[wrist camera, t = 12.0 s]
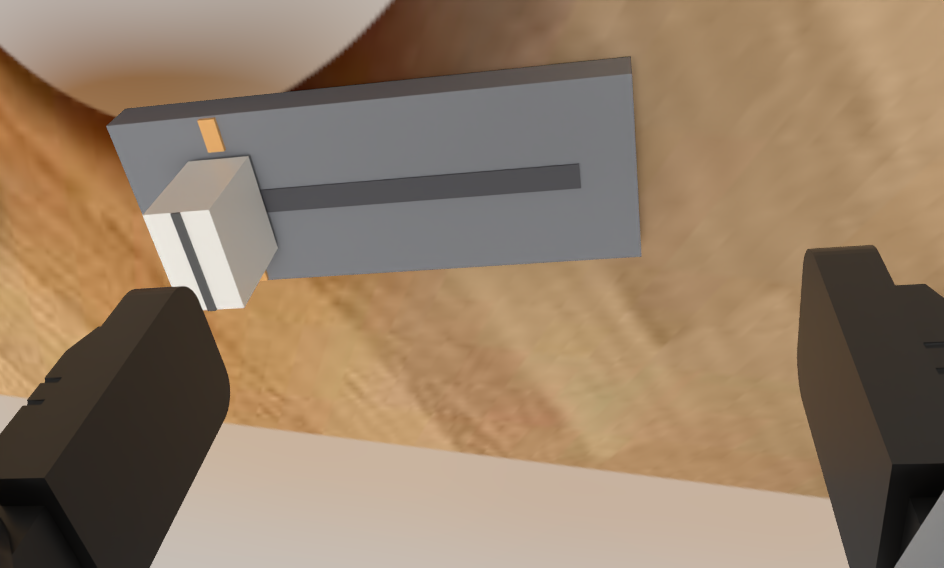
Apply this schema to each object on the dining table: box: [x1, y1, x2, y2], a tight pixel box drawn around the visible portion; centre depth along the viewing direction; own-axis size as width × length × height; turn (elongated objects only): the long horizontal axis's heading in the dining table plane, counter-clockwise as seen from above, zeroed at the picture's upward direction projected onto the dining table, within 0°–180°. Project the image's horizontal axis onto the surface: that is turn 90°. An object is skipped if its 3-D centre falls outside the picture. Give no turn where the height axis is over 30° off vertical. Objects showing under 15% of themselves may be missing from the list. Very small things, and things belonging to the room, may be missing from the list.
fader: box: [143, 156, 278, 311], centre depth 40 cm, size 3×5×5 cm, turn 8°
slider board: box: [106, 57, 641, 281], centre depth 42 cm, size 24×9×2 cm, turn 98°
